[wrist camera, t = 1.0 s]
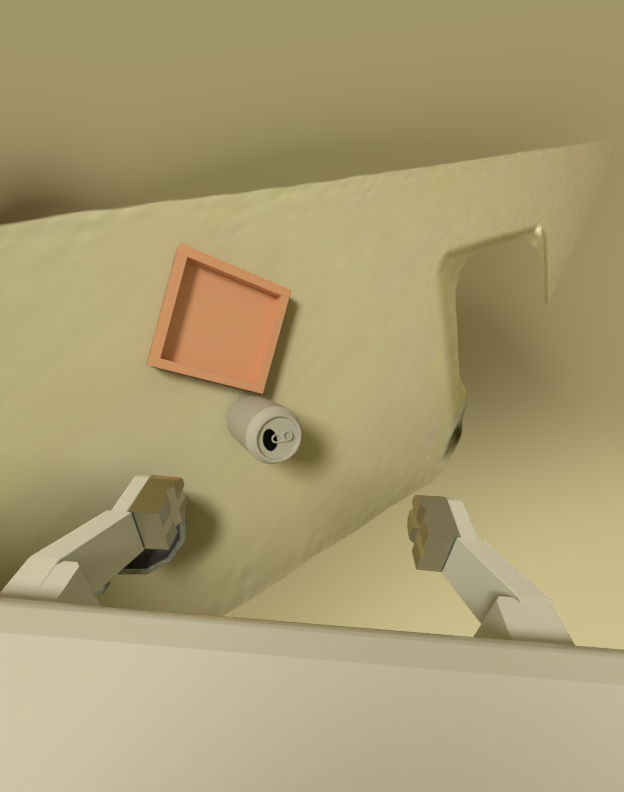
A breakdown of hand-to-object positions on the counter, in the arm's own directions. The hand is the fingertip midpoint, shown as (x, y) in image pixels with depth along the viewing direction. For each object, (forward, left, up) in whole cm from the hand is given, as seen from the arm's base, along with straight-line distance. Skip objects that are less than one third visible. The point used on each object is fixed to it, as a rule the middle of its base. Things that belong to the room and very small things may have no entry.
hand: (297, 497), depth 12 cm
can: (+11, -3, -39) cm, 41 cm away
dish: (+3, +9, -39) cm, 40 cm away
